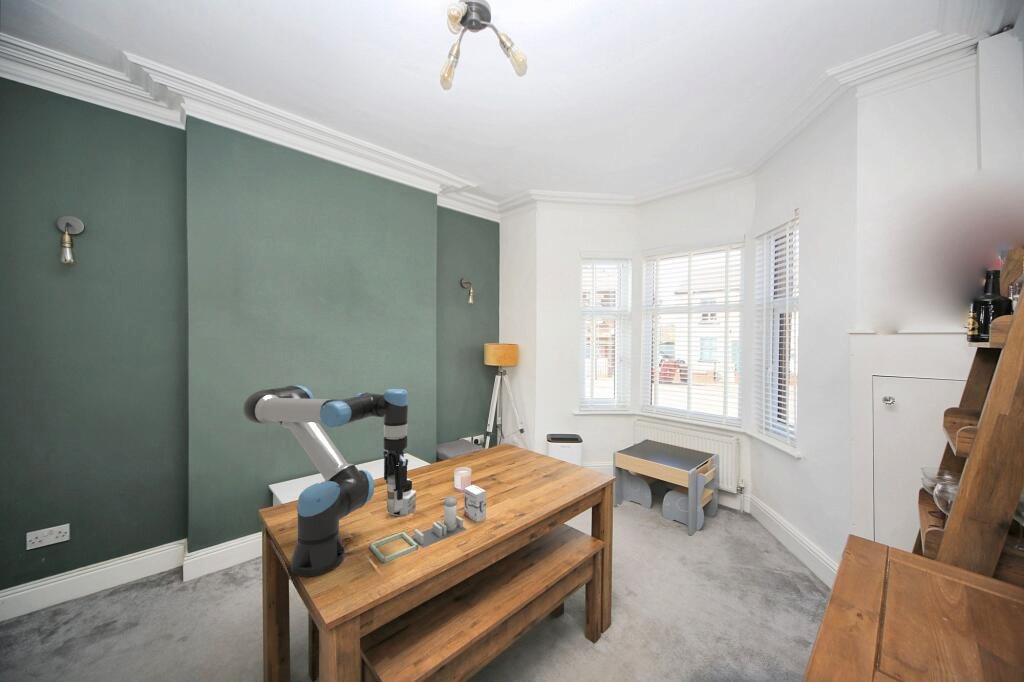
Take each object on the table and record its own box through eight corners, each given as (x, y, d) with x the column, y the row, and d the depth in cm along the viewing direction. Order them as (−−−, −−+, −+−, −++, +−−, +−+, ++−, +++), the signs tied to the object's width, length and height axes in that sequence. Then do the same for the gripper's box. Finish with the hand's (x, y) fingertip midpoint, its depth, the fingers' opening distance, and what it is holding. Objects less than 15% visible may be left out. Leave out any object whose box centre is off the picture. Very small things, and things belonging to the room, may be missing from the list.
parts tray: (383, 566, 116) (383, 559, 115) (369, 550, 124) (369, 544, 124) (418, 551, 124) (418, 545, 124) (403, 537, 132) (403, 531, 132)
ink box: (463, 516, 147) (463, 487, 147) (472, 512, 151) (473, 483, 151) (476, 525, 141) (477, 494, 141) (486, 520, 145) (487, 490, 145)
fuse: (447, 533, 133) (448, 503, 133) (440, 528, 137) (441, 498, 137) (459, 528, 136) (459, 499, 136) (451, 523, 140) (452, 495, 140)
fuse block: (423, 550, 124) (423, 538, 124) (410, 539, 131) (410, 528, 131) (467, 532, 136) (467, 521, 136) (453, 522, 143) (453, 512, 143)
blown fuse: (390, 514, 120) (391, 480, 120) (384, 508, 123) (385, 475, 123) (404, 509, 123) (405, 476, 123) (398, 504, 127) (398, 472, 126)
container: (407, 517, 146) (408, 485, 146) (389, 515, 147) (390, 483, 147) (416, 508, 153) (416, 477, 153) (399, 506, 155) (399, 475, 155)
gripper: (418, 440, 119) (417, 512, 119) (394, 428, 132) (393, 493, 132) (396, 444, 114) (395, 519, 114) (373, 432, 127) (373, 499, 127)
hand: (394, 505), depth 123 cm, fingers closed on blown fuse, 5 cm apart
